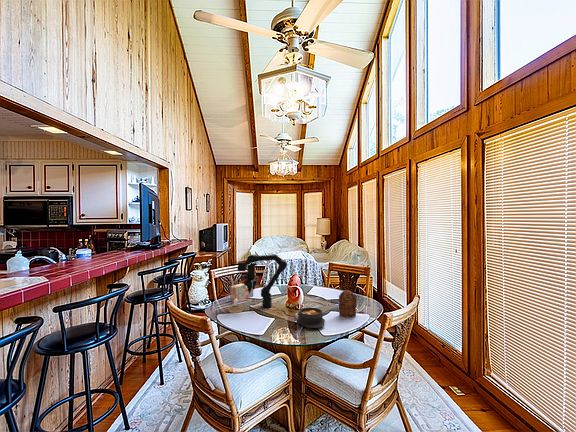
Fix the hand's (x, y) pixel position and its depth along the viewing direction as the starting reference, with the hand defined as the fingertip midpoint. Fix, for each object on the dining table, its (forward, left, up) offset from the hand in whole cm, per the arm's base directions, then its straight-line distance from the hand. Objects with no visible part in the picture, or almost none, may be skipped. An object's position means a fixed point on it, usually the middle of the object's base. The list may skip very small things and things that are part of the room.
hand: (251, 291), depth 239 cm
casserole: (-49, +28, -12) cm, 58 cm away
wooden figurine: (-73, +10, -12) cm, 75 cm away
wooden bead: (+9, +11, -12) cm, 19 cm away
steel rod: (+9, +11, -12) cm, 19 cm away
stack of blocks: (+15, -21, -12) cm, 28 cm away
